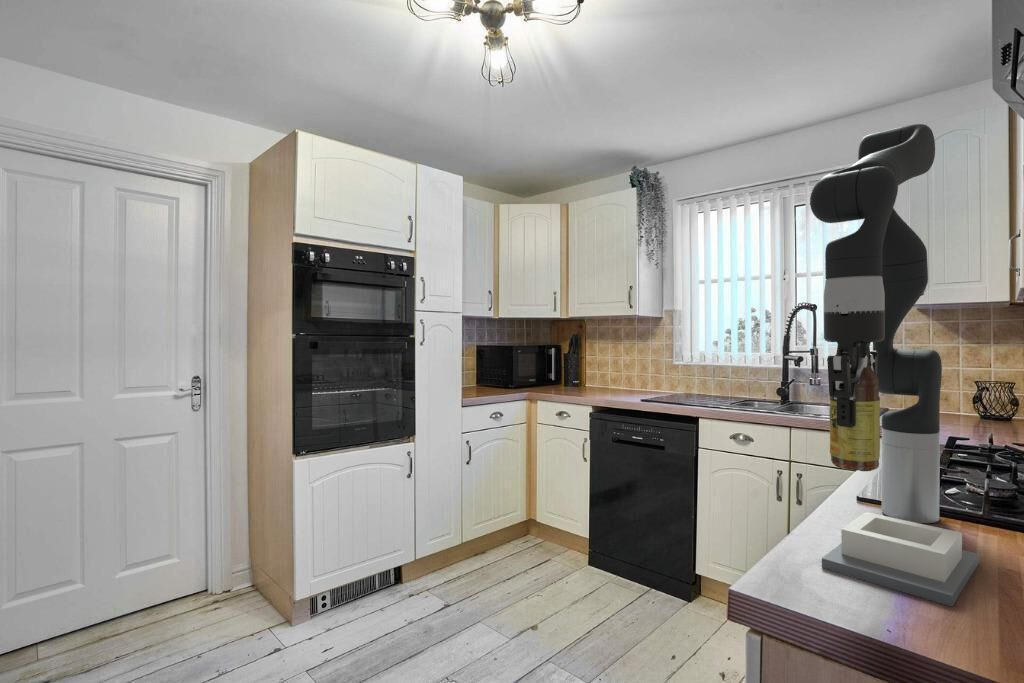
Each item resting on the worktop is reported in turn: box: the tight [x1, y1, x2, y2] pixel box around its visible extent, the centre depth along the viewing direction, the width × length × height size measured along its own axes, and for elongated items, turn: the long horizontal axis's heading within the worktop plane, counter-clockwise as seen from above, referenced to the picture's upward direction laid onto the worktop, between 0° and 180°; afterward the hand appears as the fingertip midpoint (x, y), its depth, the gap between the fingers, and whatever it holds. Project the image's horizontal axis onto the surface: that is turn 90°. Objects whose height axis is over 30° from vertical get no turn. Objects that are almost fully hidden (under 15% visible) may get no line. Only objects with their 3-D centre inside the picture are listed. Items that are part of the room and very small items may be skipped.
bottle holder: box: [821, 511, 980, 607], centre depth 84 cm, size 20×16×6 cm
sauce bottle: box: [829, 342, 881, 472], centre depth 78 cm, size 7×6×20 cm
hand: (854, 422), depth 79 cm, fingers closed on sauce bottle, 6 cm apart
